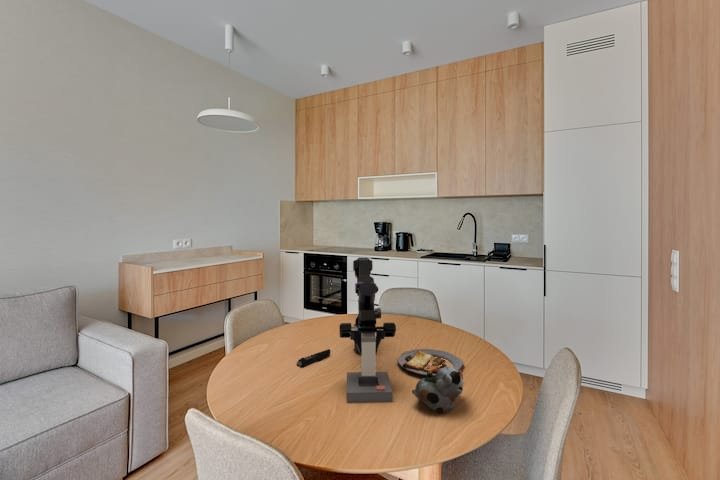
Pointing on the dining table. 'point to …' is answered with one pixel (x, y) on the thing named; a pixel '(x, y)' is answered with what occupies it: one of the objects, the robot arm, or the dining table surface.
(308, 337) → the dining table surface
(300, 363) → the electric trimmer
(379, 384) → the grey slotted slab
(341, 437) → the dining table surface
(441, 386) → the lucky cat figurine
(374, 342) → the grey rectangular block
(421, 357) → the food plate
